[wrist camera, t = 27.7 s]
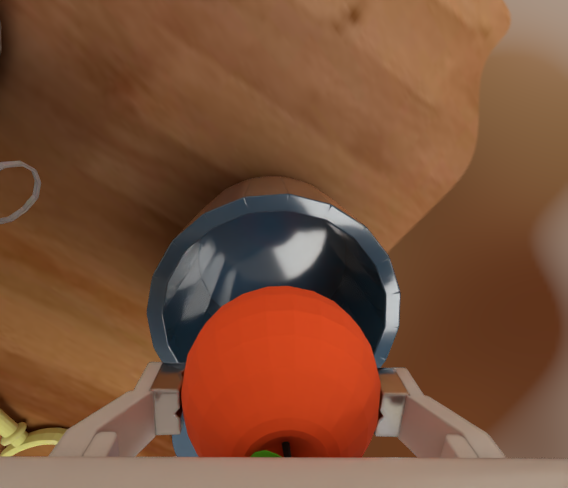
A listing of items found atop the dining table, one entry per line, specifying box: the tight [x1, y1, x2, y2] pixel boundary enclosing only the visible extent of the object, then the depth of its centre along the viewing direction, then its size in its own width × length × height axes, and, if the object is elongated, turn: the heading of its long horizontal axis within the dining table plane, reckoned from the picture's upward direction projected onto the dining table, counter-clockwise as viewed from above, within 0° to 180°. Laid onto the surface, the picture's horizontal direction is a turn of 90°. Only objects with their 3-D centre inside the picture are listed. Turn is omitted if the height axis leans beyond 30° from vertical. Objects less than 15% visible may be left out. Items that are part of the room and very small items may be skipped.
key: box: [0, 409, 67, 456], centre depth 28 cm, size 7×12×2 cm, turn 43°
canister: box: [147, 176, 401, 368], centre depth 21 cm, size 13×13×10 cm
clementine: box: [181, 286, 381, 458], centre depth 12 cm, size 8×7×7 cm
